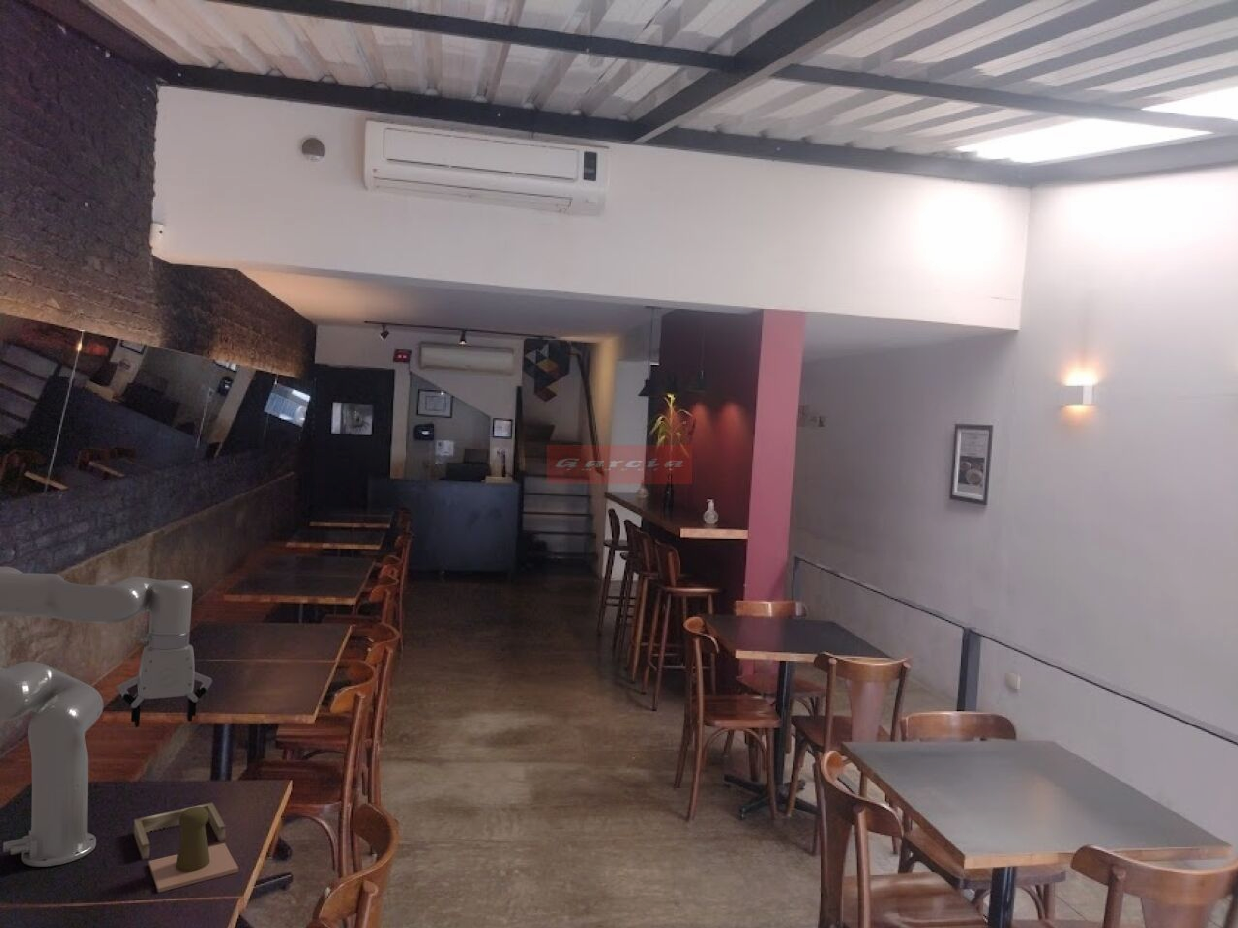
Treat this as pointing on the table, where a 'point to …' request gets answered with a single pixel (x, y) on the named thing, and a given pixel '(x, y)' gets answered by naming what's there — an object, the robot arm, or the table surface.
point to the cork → (193, 840)
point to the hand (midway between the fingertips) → (163, 722)
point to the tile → (172, 878)
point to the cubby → (172, 820)
